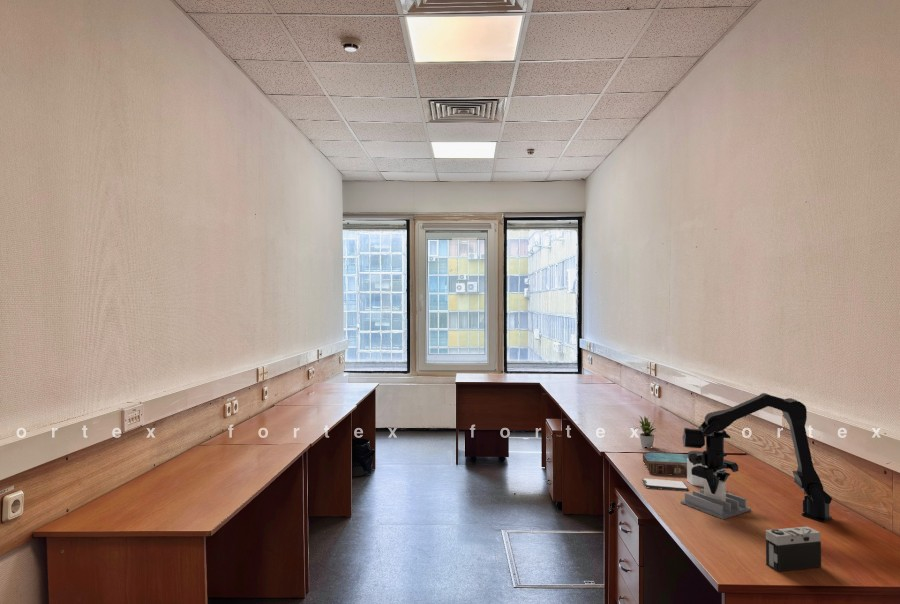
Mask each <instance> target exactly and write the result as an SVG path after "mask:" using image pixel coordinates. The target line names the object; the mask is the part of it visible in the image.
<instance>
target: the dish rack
mask: <svg viewBox="0 0 900 604" xmlns="http://www.w3.org/2000/svg"><path fill="white" fill-rule="evenodd" d="M699 490H700V491H699V492H698V491H696V490H692V494H691V493H687V492H685V493H684V500H680V504H681V503H683V504H682V505H684V504H686V505H688V506H687V507H689V506H691V507H690V508H692V507H694V508H696V509H695V510H697V509H699V510H701V511H700V512H702V511H703V512H702V513H705V512H706V513H705V514H707V513H709V514H708V515H710V514H711V515H710V516H712V515H714V516H713V517H715V516H716V517H715V518H718V517H719V518H718V519H720V518H721V520H726V519H729V518H731V517H734V516H735V517H736V516H738V515H741V514H744V513H747V512H750V511H752V508H751V507H749V506H747V498H746V497H745V498H744V497H741V496H739V495H735V494H732V493H729V492H727V491H726V502H725V501H722V500H719V499H716V498H714V497H711V496H708V495H705V494H704V488H700V489H699ZM686 505H685V506H686ZM694 508H693V509H694ZM699 510H698V511H699Z"/></svg>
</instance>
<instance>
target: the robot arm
mask: <svg viewBox="0 0 900 604" xmlns="http://www.w3.org/2000/svg"><path fill="white" fill-rule="evenodd" d="M767 407H770V408H773V409H775V410H778V411H781V412H782V414H783V417H784V418H785V421H786V422H787V423H788V426H789V430H790V434H791V435H790V436H791V440H792V443H793V444H792V445H793V448H794V449H793V450H794V453H795V459H796V463H797V469H796V470H792V471H791V472H792V474H793V477H794V480H793V481H794V483H795V484H796V485H797V487H799V488H800V489H801V490H802V492H803V494H804V496H803V498H804V499H802V513H801V515H802V516H804V517H807V518H809V519H811V520H815V521H819V522H823V523H824V522H826V521H829V520H831V519H833V516H831V515H830V504H831V503H832V501H833V497H832V496H830V495H829V494H828V493H827V492H826V490H825V489H824V486H823V483H822V480H821V478H820V476H819V475H818V473H817V471H816V470H815V469H816V468H815V467H814V463H813V459H812V458H813V457H812V455H811V454H812V453H811V449H810V445H809V444H810V443H809V439H808V434H807V430H806V422H807V420H808V416H807V415H808V412H807V410H808V409H807V406H806V405H805V404H804V403H803V402H801V401H799V400H797V399H795V398H791V397H790V398H783V397H782V398H781V397H778V396H774V395H771V394H769V393H765V392H763V393H760V394H759V395H758V396H754V397H753V398H751V399H748V400H746V401H743V402H742V403H739V404H736V405H735V406H732V407H730V408H728V409H727V408H726V409H722V410H720V409H719V410H715V411H713V412H712V411H711V412H709V413H707V414H706V415H705V417H704V421H703V422H702V423H701V425H700V426H699V427H698V428H690V427H684V428H683V433H682V444H683V447H684V448H689V449H690V448H692V449H702V448H703V447H704V446H705V450H703V451H702V452H703V454H699V455H697V454H696V453H692V454H689V461H690V462H691V463H693V465H696V464H702V465H703V466H707V467H708V468H707V467H703V466H700V465H699V466H695V467H693V468H692V469H691V474H692V475H695V476H698V477H701V478H704V479H706V480H707V482H708V485H709V488H710V490H711V493H712V494H715V492H716V490H717V486H718V483H719V480H721V481H724V482H726V481H727V480H728V478H729V477H730V476H731V473H729V472H727V469H729V470H731V472H732V473H736V472H739V464H737V462H734V461H731V460H727V459H725V457H727V452H725V439H730V438H731V436H730V434H728V433H727V431H726V429H727V428H729V427H730V426H731V425H732V424H733V423H734V422H735V421H737V420H740V419H742V418H744V417H746V416H749V415H751V414H753V413H757V412H759V411H761V410H763V409H765V408H767Z"/></svg>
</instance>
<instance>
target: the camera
mask: <svg viewBox="0 0 900 604" xmlns="http://www.w3.org/2000/svg"><path fill="white" fill-rule="evenodd" d="M765 562H766V563H765V565H766V566H767V567H768V568H771V569H772V570H773V571H774V572H787V571H797V570H803V569H804V570H806V569H807V570H808V569H814V568H815V569H816V568H821V567H822V542H821V531H819V530H816V529H814V528H812V527H810V526H798V527H788V528H776V529H775V528H774V529H773V528H772V529H765Z"/></svg>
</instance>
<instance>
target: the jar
mask: <svg viewBox="0 0 900 604" xmlns="http://www.w3.org/2000/svg"><path fill="white" fill-rule="evenodd" d="M692 453H696V454H697V455H699V454H703V451H701V450H700V451H699V450H690V451H688V452H687V454H688V458H687V476H686V482H687V481H688V483H689V484H690V485H692V486H696V487H701V488H704V478H701V477H698V476H695V475H692V474H691V469H692V468H693V467H695V466H699V465H700V466H703V465H702V464H696V465H693V463H691V462H690V461H689V454H692ZM703 467H707V466H703ZM707 468H708V467H707Z"/></svg>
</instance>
